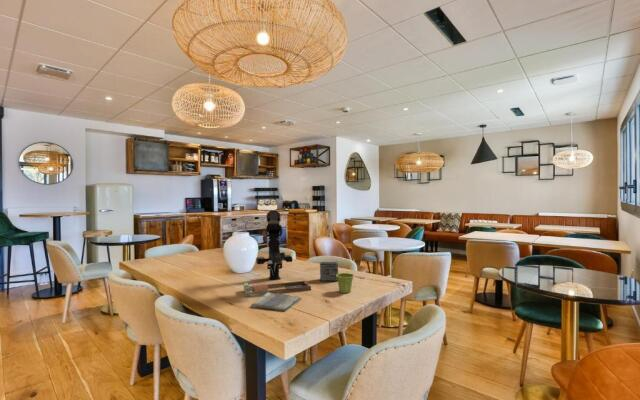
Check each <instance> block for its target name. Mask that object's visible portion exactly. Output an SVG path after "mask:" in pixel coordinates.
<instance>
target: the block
mask: <svg viewBox="0 0 640 400" xmlns="http://www.w3.org/2000/svg"><path fill="white" fill-rule="evenodd" d="M267 285H268V284H266V283H257V284H252V285H251V286H252V290H251V292H258V291H267V290H269V289H268V286H267Z"/></svg>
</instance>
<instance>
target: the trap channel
mask: <svg viewBox="0 0 640 400" xmlns="http://www.w3.org/2000/svg"><path fill="white" fill-rule="evenodd" d="M266 285H267V286H268V290H267V291H258V292H252V285H249V283H248V282H244V283H243V292H244V295H245V298H252V297H254V298H255V297H259V296H260V297H262V296H264V295H265V294H266V293H267V292H269V293H273V294H276V293H279V294H286V293H296V292H305V291H306V292H307V291H312V286H311V285H310V284H309V283H308V282H307V281H306V280H300V281H288V282H280V283H279V282H278V283H271V284H270V283H269V284H266ZM277 288H279V289H277Z"/></svg>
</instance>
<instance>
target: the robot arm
mask: <svg viewBox="0 0 640 400" xmlns="http://www.w3.org/2000/svg"><path fill="white" fill-rule="evenodd" d="M278 211H279V210H277V209H274V210H269V211H268V212H267V213H266V222H267V225H266V234H265V235H266V238H268V243H267V245H268V258H267V257H266V258H265V257H264V256H257V257H256V258H255V263H256V264H257V265H264V264H265V263H266V265H267V268H266V269H267V270H269V276H268V279H269V280H270V281H272V280H275V281H276V280H280V279H281V277H280V270H281V269H283V261H285V262H286V263H291V262H293V256H291V255H290V254H286V253H285V251H283V252H281V250H280V246H281V245H280V237H282V235H283V226H282V225H281V224H280V222H281V218H282V217H281V212H278Z"/></svg>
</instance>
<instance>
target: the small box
mask: <svg viewBox="0 0 640 400" xmlns="http://www.w3.org/2000/svg"><path fill="white" fill-rule="evenodd" d="M319 269H320V270H319V275H320V277H319V278H320V279H319V280H320V281H319V282H321V283H322V282H326V283H327V282H335V283H336V282H337V283H338V279H337V276H336V275H337V274H339V262H338V261H331V262H330V261H323V262H322V261H321V262H320V263H319Z"/></svg>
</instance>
